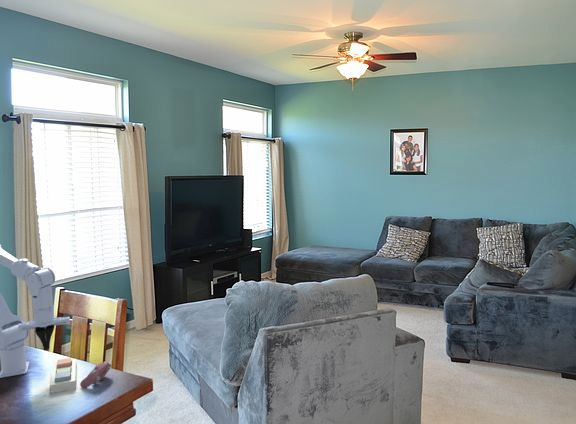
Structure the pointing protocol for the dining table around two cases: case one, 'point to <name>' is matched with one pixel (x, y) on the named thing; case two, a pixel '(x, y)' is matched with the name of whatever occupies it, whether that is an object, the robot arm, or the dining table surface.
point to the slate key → (62, 376)
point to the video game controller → (96, 374)
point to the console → (64, 384)
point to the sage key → (64, 370)
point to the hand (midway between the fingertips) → (46, 348)
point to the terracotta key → (64, 363)
